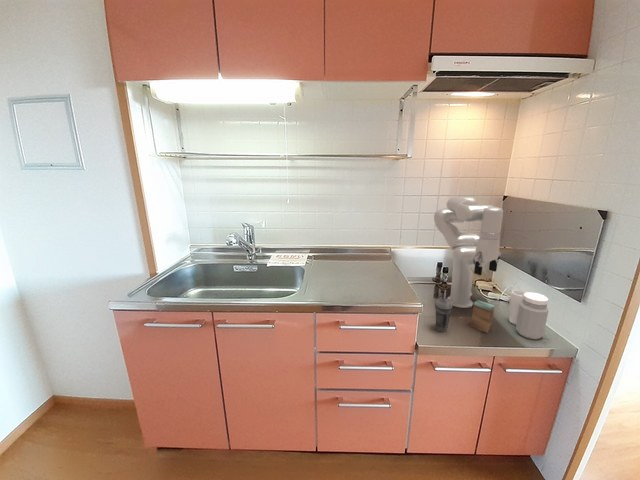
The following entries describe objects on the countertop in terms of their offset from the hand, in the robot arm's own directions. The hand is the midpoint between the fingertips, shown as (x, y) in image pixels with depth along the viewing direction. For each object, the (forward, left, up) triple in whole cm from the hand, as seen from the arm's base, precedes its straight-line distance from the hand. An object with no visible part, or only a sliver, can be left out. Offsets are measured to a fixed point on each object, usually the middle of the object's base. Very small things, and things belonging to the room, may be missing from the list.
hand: (485, 272), depth 124 cm
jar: (-6, +18, -25) cm, 32 cm away
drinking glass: (-12, +11, -25) cm, 30 cm away
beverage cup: (+19, -8, -25) cm, 32 cm away
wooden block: (+5, +3, -25) cm, 26 cm away
